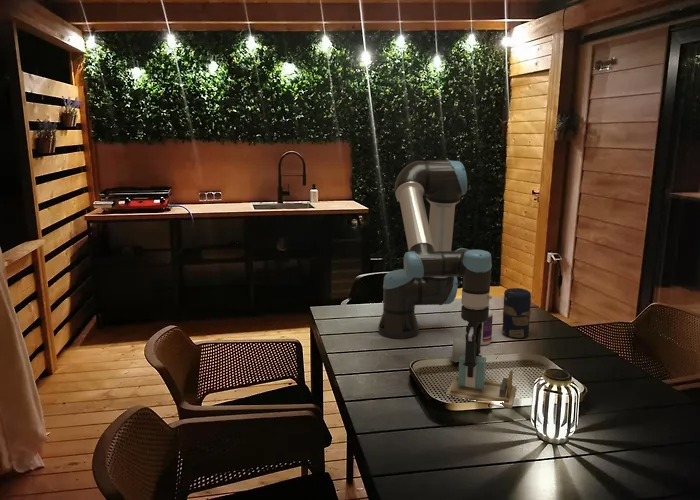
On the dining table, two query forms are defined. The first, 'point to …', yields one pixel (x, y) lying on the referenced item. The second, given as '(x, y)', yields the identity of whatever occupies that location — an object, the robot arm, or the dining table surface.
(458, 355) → the grey rectangular block
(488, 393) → the wooden tray
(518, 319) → the canister
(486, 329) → the pill bottle
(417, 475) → the dining table surface
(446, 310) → the dining table surface
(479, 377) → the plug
